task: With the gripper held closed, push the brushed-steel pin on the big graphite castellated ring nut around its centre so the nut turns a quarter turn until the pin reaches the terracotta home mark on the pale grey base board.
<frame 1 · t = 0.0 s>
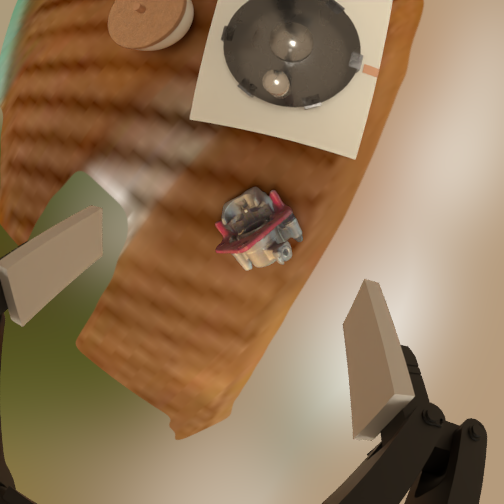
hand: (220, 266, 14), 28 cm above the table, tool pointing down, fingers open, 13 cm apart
grey maroon spiky lump: (259, 220, 43), on the table
lidded jar: (169, 24, 32), on the table
ring nut: (290, 38, 26), point 7 cm above the table, hinge at 0.0°
base board: (292, 51, 31), on the table
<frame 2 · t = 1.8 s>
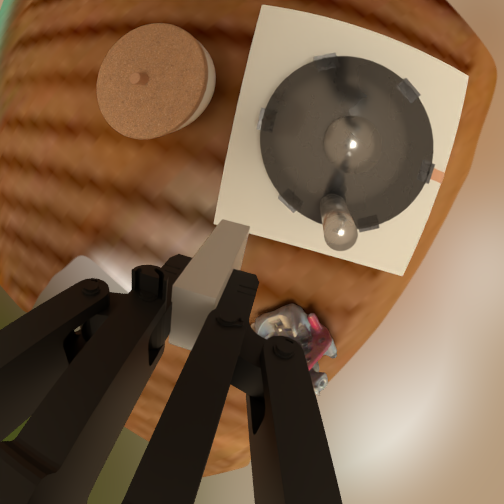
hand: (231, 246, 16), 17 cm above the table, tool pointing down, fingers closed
grey maroon spiky lump: (291, 329, 39), on the table
lidded jar: (180, 85, 28), on the table
ring nut: (356, 146, 22), point 6 cm above the table, hinge at 0.0°
base board: (345, 140, 27), on the table
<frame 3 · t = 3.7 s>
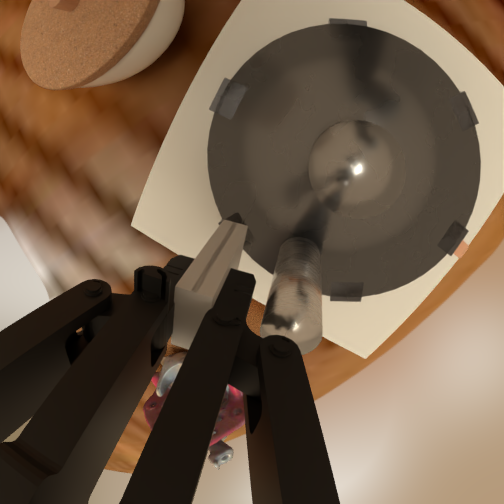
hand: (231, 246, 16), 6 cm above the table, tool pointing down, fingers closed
grey maroon spiky lump: (209, 377, 30), on the table
lidded jar: (141, 28, 17), on the table
ring nut: (362, 174, 13), point 6 cm above the table, hinge at 2.2°, touching gripper
base board: (345, 157, 18), on the table
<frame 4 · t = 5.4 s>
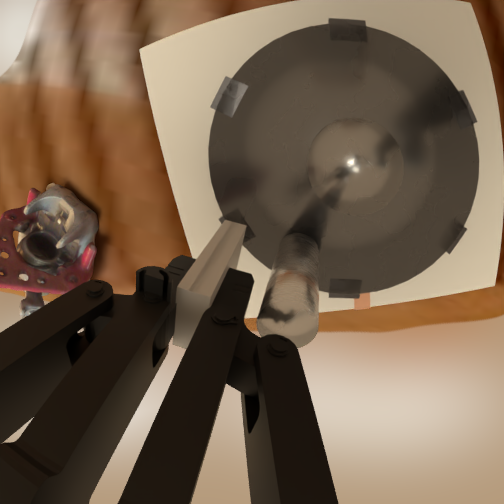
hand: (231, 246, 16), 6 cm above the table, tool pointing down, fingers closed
grey maroon spiky lump: (72, 231, 26), on the table
ring nut: (360, 170, 13), point 6 cm above the table, hinge at 50.3°, touching gripper
base board: (345, 155, 19), on the table
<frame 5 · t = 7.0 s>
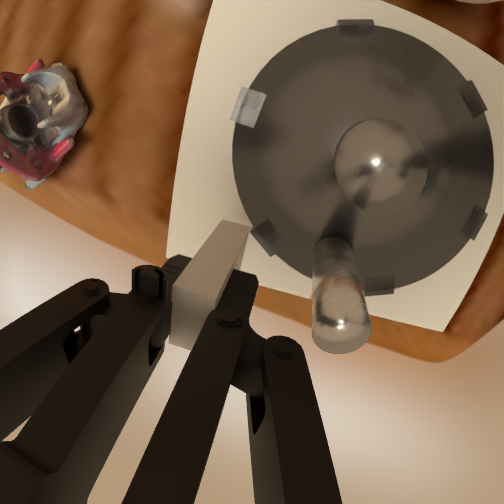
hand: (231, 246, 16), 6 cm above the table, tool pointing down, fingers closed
grey maroon spiky lump: (56, 118, 21), on the table
ring nut: (389, 171, 13), point 6 cm above the table, hinge at 82.1°
base board: (364, 154, 18), on the table
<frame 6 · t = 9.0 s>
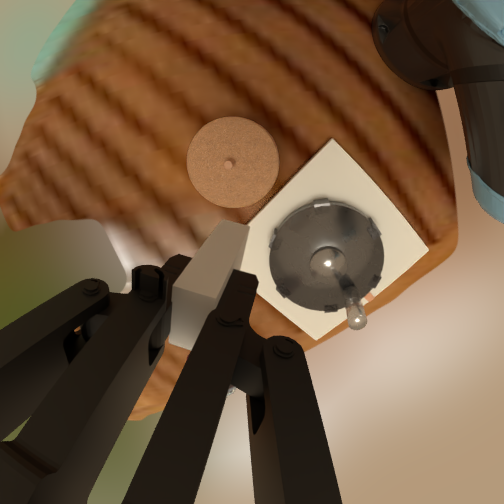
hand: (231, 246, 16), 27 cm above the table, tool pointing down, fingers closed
lidded jar: (243, 155, 40), on the table
ring nut: (329, 271, 38), point 7 cm above the table, hinge at 82.1°
base board: (325, 250, 44), on the table
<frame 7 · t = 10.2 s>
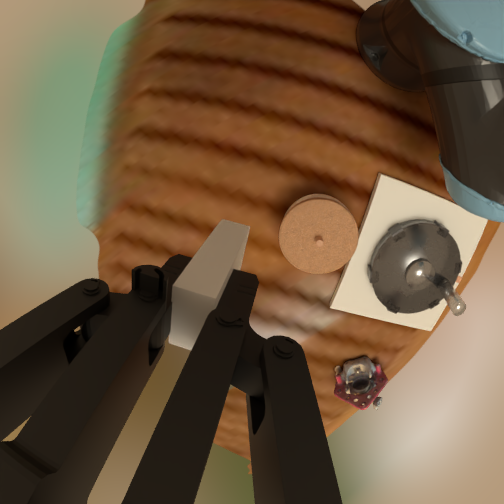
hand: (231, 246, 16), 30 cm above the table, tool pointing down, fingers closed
grey maroon spiky lump: (358, 369, 58), on the table
lidded jar: (316, 219, 46), on the table
ring nut: (423, 279, 40), point 7 cm above the table, hinge at 82.1°
base board: (411, 260, 46), on the table
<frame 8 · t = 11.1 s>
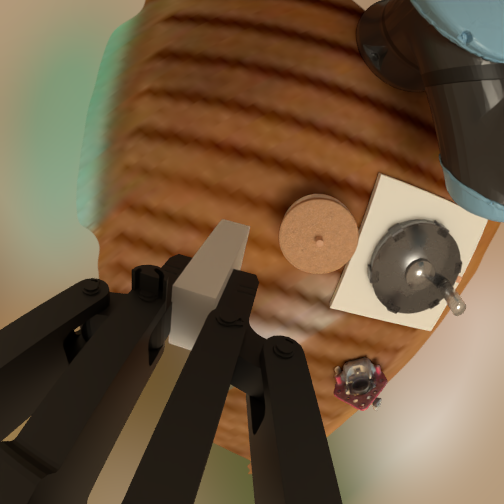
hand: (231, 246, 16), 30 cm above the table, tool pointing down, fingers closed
grey maroon spiky lump: (358, 370, 58), on the table
lidded jar: (316, 219, 46), on the table
ring nut: (423, 279, 40), point 6 cm above the table, hinge at 82.1°
base board: (411, 260, 46), on the table
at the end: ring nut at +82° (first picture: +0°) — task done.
